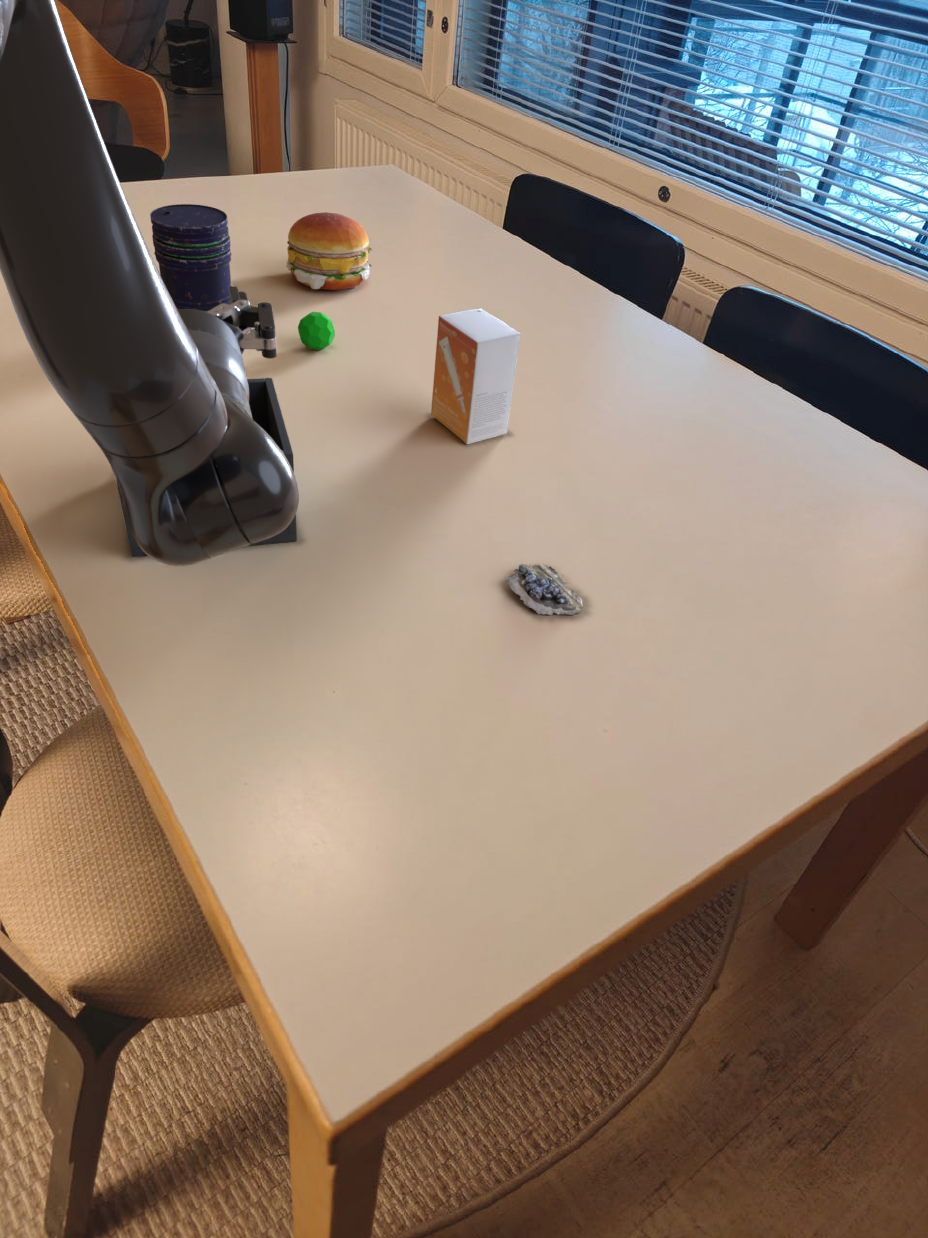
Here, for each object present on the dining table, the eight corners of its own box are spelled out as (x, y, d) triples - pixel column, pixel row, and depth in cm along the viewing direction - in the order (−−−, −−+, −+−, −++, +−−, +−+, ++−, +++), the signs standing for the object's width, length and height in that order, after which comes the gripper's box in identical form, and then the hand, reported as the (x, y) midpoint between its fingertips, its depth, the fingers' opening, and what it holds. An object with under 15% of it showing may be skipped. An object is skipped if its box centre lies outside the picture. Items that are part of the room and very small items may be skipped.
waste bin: (131, 557, 82) (113, 465, 75) (130, 470, 93) (114, 384, 86) (297, 541, 86) (293, 453, 79) (276, 460, 97) (272, 377, 90)
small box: (429, 416, 108) (437, 314, 99) (470, 406, 111) (481, 306, 102) (466, 445, 103) (477, 341, 95) (508, 434, 106) (522, 332, 98)
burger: (381, 274, 143) (383, 211, 137) (353, 302, 133) (354, 235, 127) (305, 260, 145) (304, 197, 139) (272, 287, 135) (269, 220, 129)
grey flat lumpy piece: (529, 560, 87) (532, 545, 86) (598, 593, 84) (602, 578, 83) (493, 592, 83) (495, 576, 81) (564, 628, 79) (568, 613, 78)
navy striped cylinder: (246, 318, 125) (238, 209, 115) (225, 345, 118) (214, 231, 108) (178, 309, 125) (164, 200, 116) (153, 336, 118) (136, 221, 108)
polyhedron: (296, 340, 121) (294, 307, 118) (330, 339, 122) (330, 306, 119) (302, 356, 117) (301, 321, 114) (337, 354, 119) (337, 320, 116)
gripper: (288, 329, 65) (263, 253, 76) (85, 333, 61) (91, 253, 72) (291, 418, 70) (267, 335, 81) (104, 428, 66) (106, 339, 77)
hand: (184, 297), depth 77 cm, fingers open, 8 cm apart
